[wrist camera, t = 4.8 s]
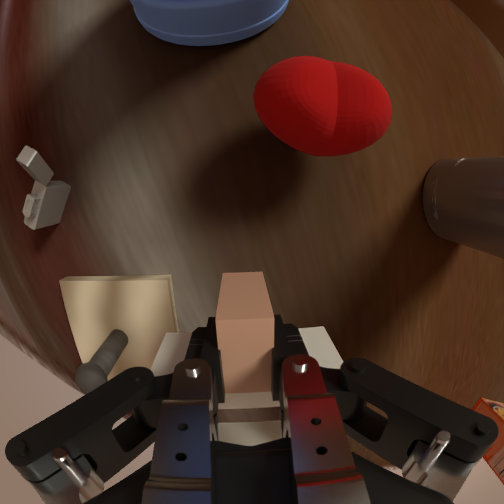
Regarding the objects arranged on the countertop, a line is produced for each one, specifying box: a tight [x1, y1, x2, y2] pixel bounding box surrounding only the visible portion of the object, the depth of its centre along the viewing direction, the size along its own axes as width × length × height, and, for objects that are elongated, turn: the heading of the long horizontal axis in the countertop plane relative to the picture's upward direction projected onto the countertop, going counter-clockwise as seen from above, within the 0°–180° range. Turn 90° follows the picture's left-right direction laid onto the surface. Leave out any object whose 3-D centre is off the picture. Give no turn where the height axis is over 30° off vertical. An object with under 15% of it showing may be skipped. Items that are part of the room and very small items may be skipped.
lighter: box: [16, 146, 71, 230], centre depth 18 cm, size 7×2×8 cm, turn 152°
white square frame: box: [150, 272, 343, 446], centre depth 13 cm, size 9×12×5 cm
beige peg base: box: [59, 275, 179, 394], centre depth 20 cm, size 12×12×10 cm
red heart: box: [253, 56, 392, 156], centre depth 17 cm, size 9×7×10 cm
